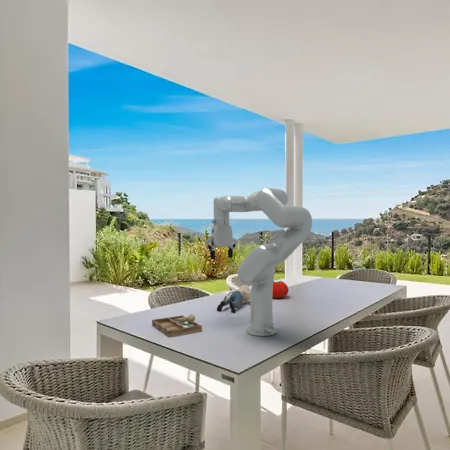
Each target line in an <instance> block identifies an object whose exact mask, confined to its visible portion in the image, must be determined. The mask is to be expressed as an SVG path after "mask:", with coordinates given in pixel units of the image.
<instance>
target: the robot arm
mask: <svg viewBox="0 0 450 450" xmlns="http://www.w3.org/2000/svg"><path fill="white" fill-rule="evenodd" d="M288 202H289V196H288V194H287V192H286V191H284V190H283V189H280V188H279V189H278V188H272V187H271V188H269V187H266V188H265V187H264V188H261V189H259V191H254V192H252V193H251V194H250V195H246V196H243V195H242V196H241V195H226V196H215V197H214V198H213V219H212V220H211V223H212V224H213V225H212V227H211V234H210V238H209V239H207V240H205V241H204V243H205V246H206V248H207V249H208V250H209V257H210V259H211V260H215V259H216V250H215V249H216V248H219V247H221V248H222V247H227V248H228V249H227V258H228V259H233V256H234V250H235V248H236V246H237V243H238V240H237V239H235V238H234V236H233V230H232V225H230V213H248V212H261V211H262V212H263V214H265V215H266V217H267V218H268V219H270V221H271V222H272V223H273V224H274V225H275V226H277V227H279V228H282V229H284V228H285V229H286V230H285V231H283V232H282V233H281V234H280V235H279V236H278V237H277V238H276V239H275V240H274V241H273V242H270V243H264V244H260V245H257V246H255V247H254V248H253V249H252V250H251V251H250V252H249V253H248V254H247V255H246V256H245V258H244V259H243V260H242V261H241V263H240V264H239V266H238V269H237V277H238V279H239V281H240V282H242V283H243V284H245V285H247V284H249V285H250V284H251V287H250V290H251V296H250V300H249V301H250V326H249V327H247V328H246V332H247V334H249V335H252V336H258V337H266V336H267V337H268V336H273V335H275V334H276V333H277V329H278V328H276V327H274V326H275V325H274V324H275V323H274V322H273V297H272V296H273V281H274V280H275V279H274V278H275V272H276V271H275V270H276V269H275V267H278V266H280V265H282V264H283V263H284V262H285V261H286V260H288V258H289V257H290V256H291V255H292V254H293V253H294V252H295V250H297V248H299V246H301V244H302V243H303V242H305V240H306V239H307V238H308V236H310V233H311V230H312V226H313V218H312V217H313V216H312V214H311V212H310V211H309V210H308V209H307V208H305V207H303V206H299V205H297V206H296V205H288Z"/></svg>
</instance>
